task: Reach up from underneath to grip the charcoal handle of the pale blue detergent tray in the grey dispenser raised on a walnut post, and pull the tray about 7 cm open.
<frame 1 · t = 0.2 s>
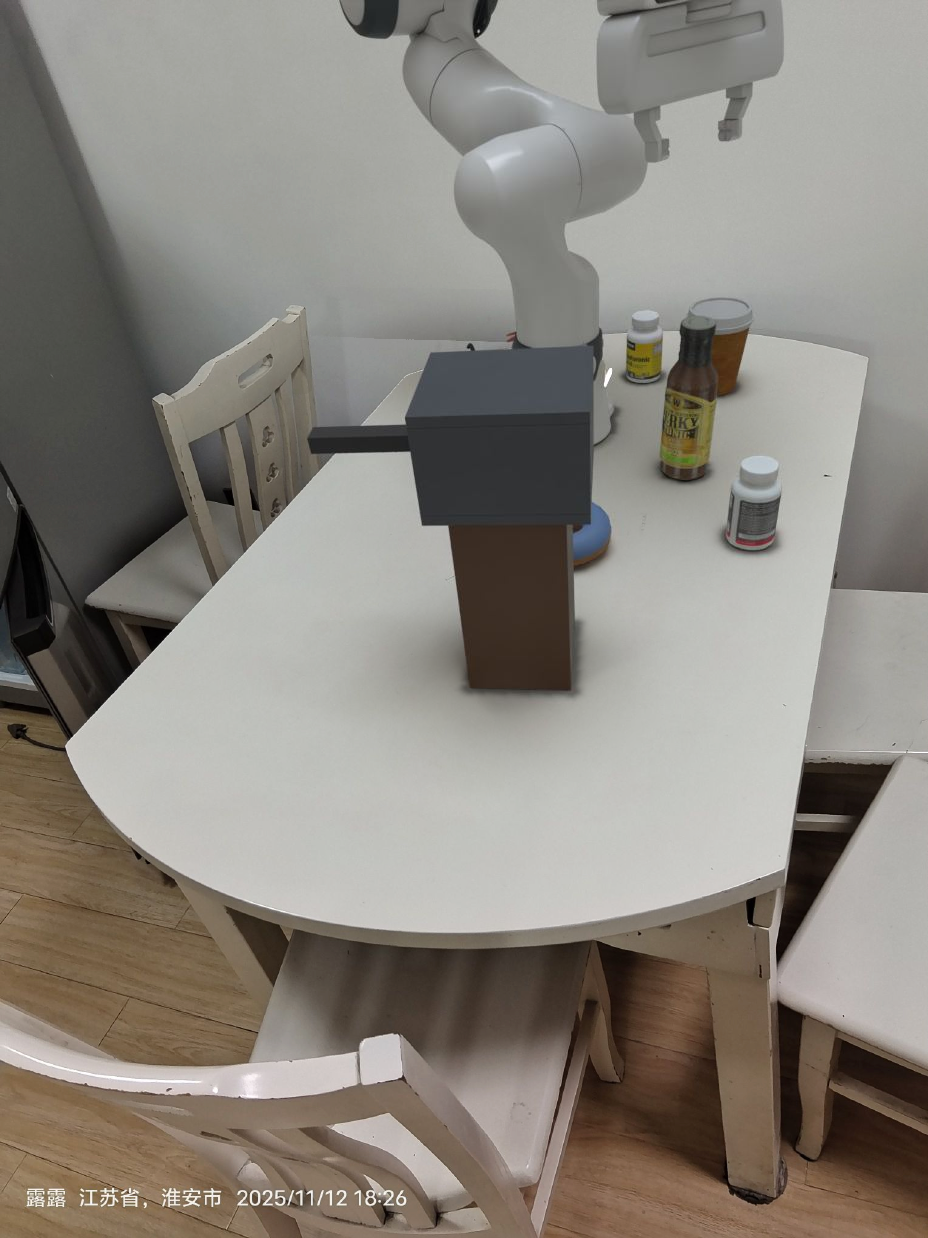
hand: (694, 150, 83), 39 cm above the table, tool pointing down, fingers open, 8 cm apart
detergent tray: (440, 437, 73), point 25 cm above the table, slide at 0.0 cm
disposable coffee cup: (713, 387, 129), on the table
dispenser: (524, 654, 88), on the table
pill bottle: (749, 539, 99), on the table
supplement bottle: (643, 377, 134), on the table
sauce bottle: (684, 471, 112), on the table
doughnut: (568, 548, 101), on the table
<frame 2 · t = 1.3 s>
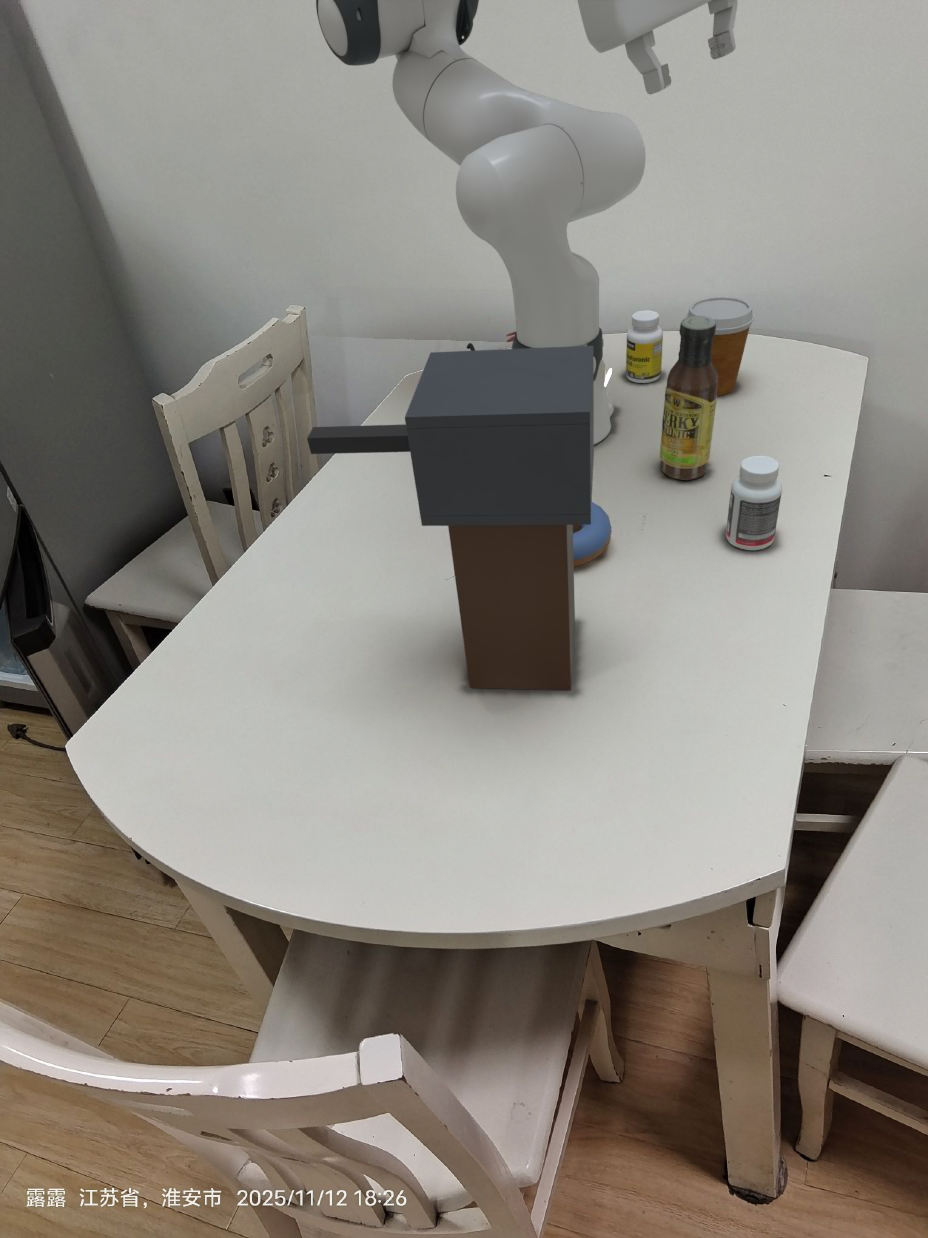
hand: (692, 72, 78), 46 cm above the table, tool tilted 15°, fingers open, 8 cm apart
nothing on the table moved.
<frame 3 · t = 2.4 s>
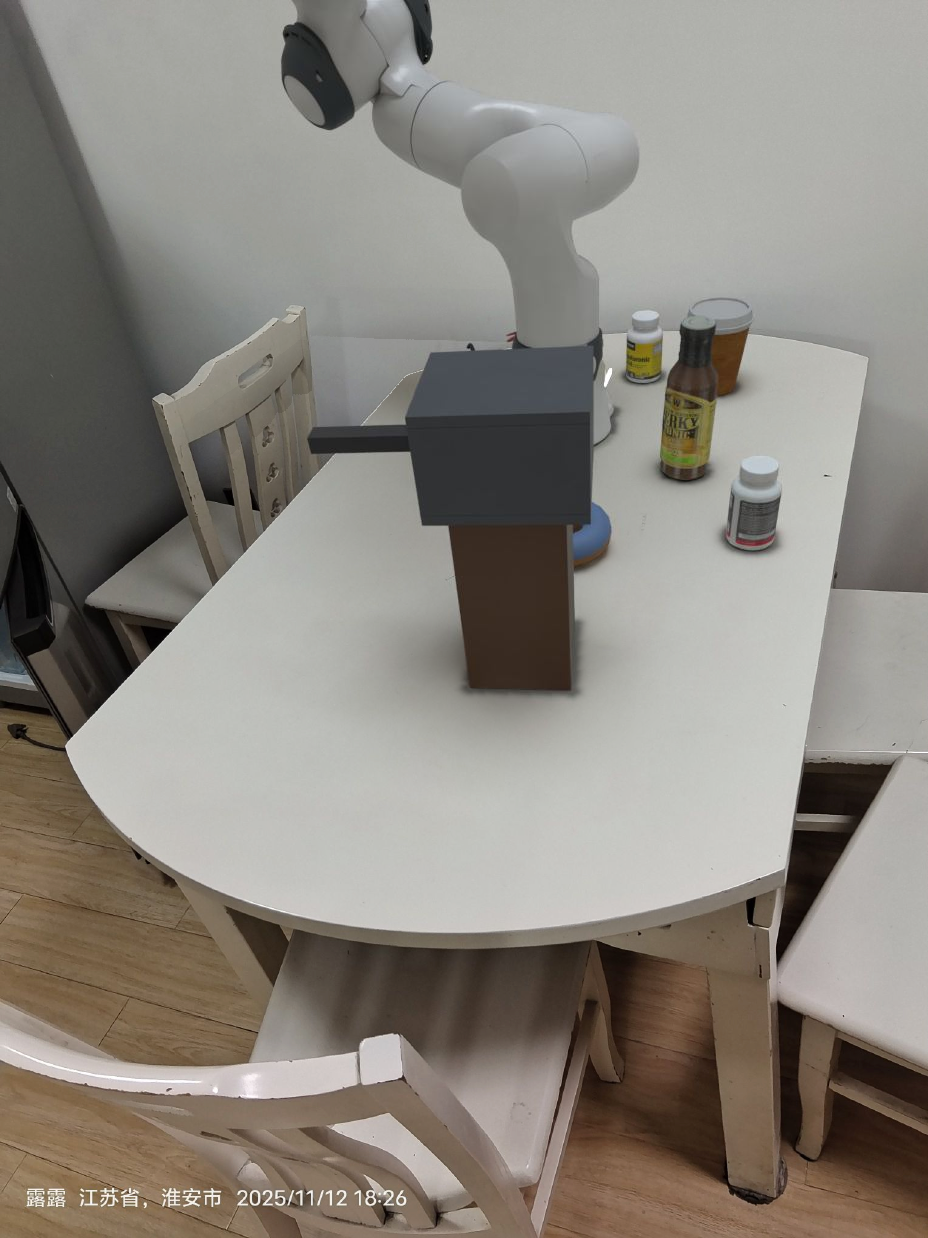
nothing on the table moved.
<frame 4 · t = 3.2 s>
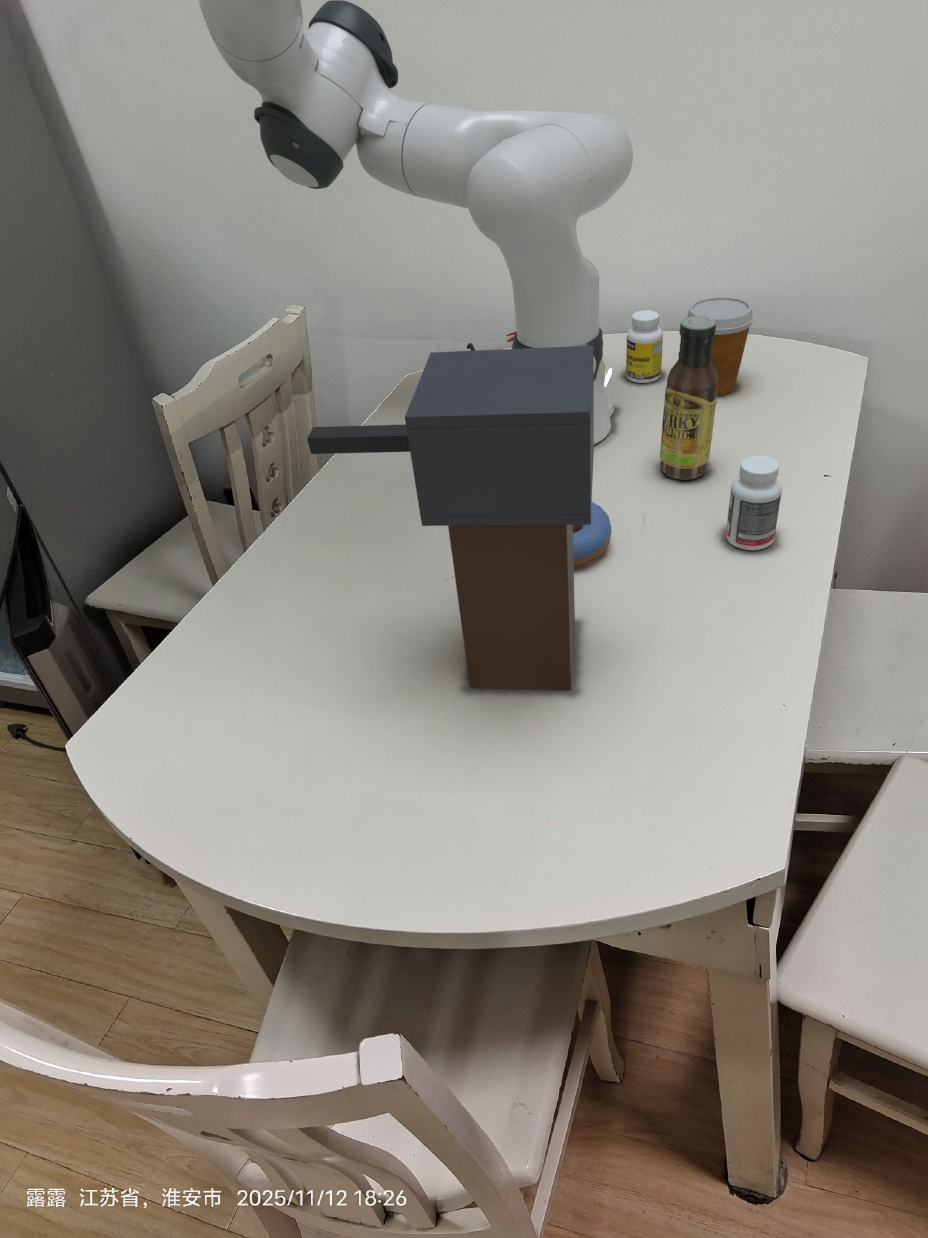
nothing on the table moved.
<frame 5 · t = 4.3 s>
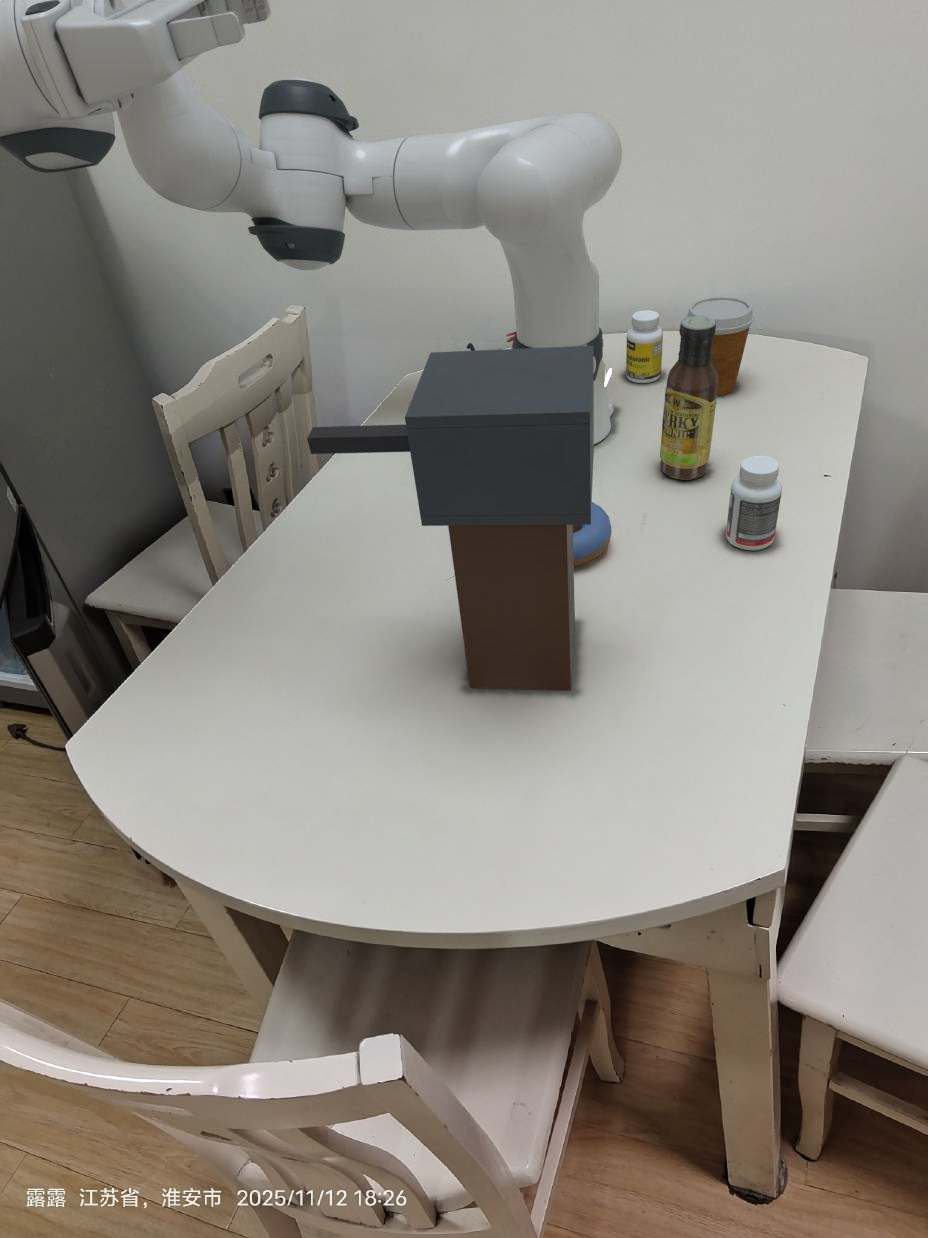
hand: (254, 14, 65), 55 cm above the table, tool horizontal, fingers open, 8 cm apart
nothing on the table moved.
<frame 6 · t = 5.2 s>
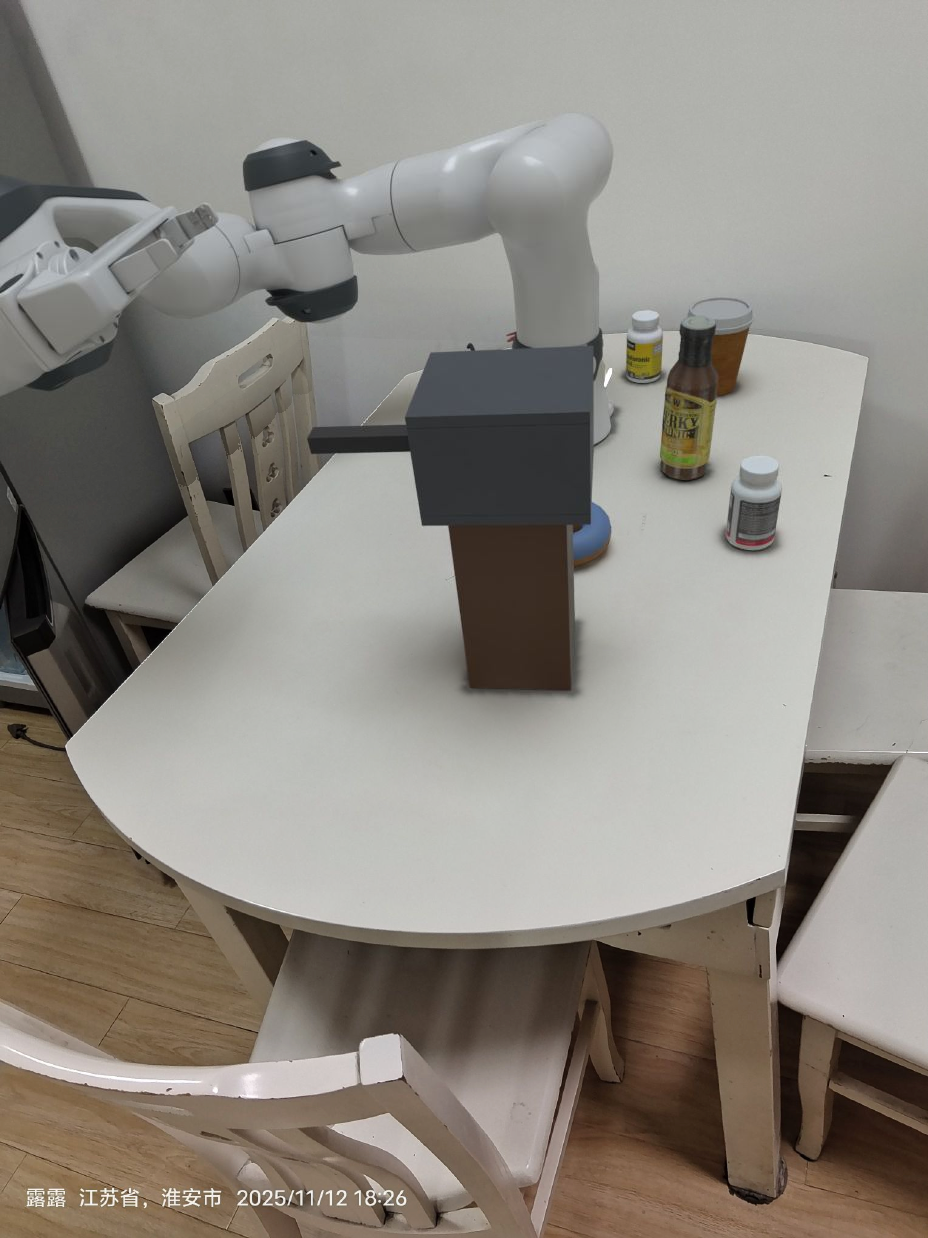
hand: (194, 228, 68), 42 cm above the table, tool pointing upward, fingers open, 8 cm apart
nothing on the table moved.
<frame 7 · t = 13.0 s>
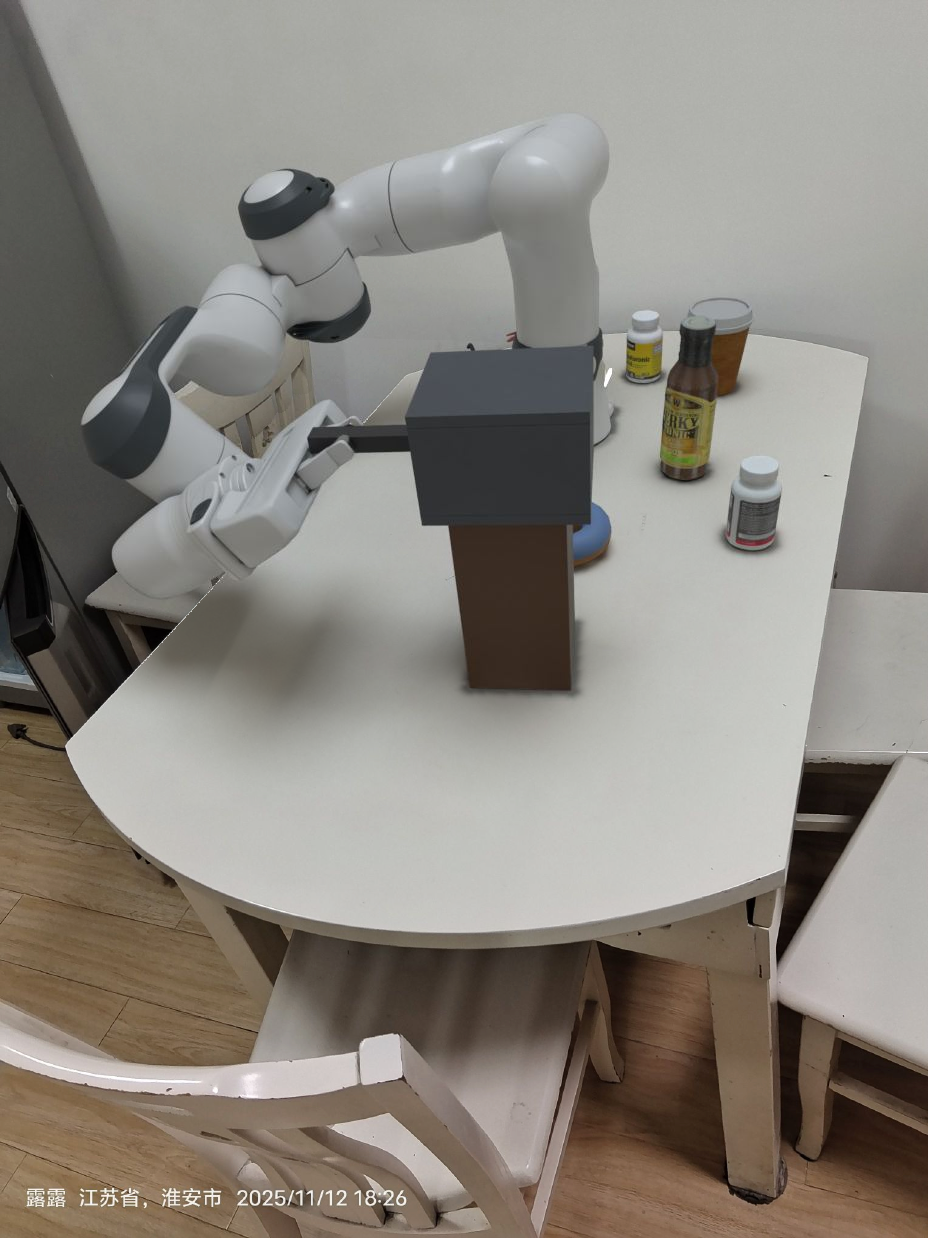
hand: (354, 434, 74), 25 cm above the table, tool pointing upward, fingers closed on detergent tray, 2 cm apart
detergent tray: (439, 437, 73), point 25 cm above the table, slide at 0.0 cm, touching gripper
everything else where it was.
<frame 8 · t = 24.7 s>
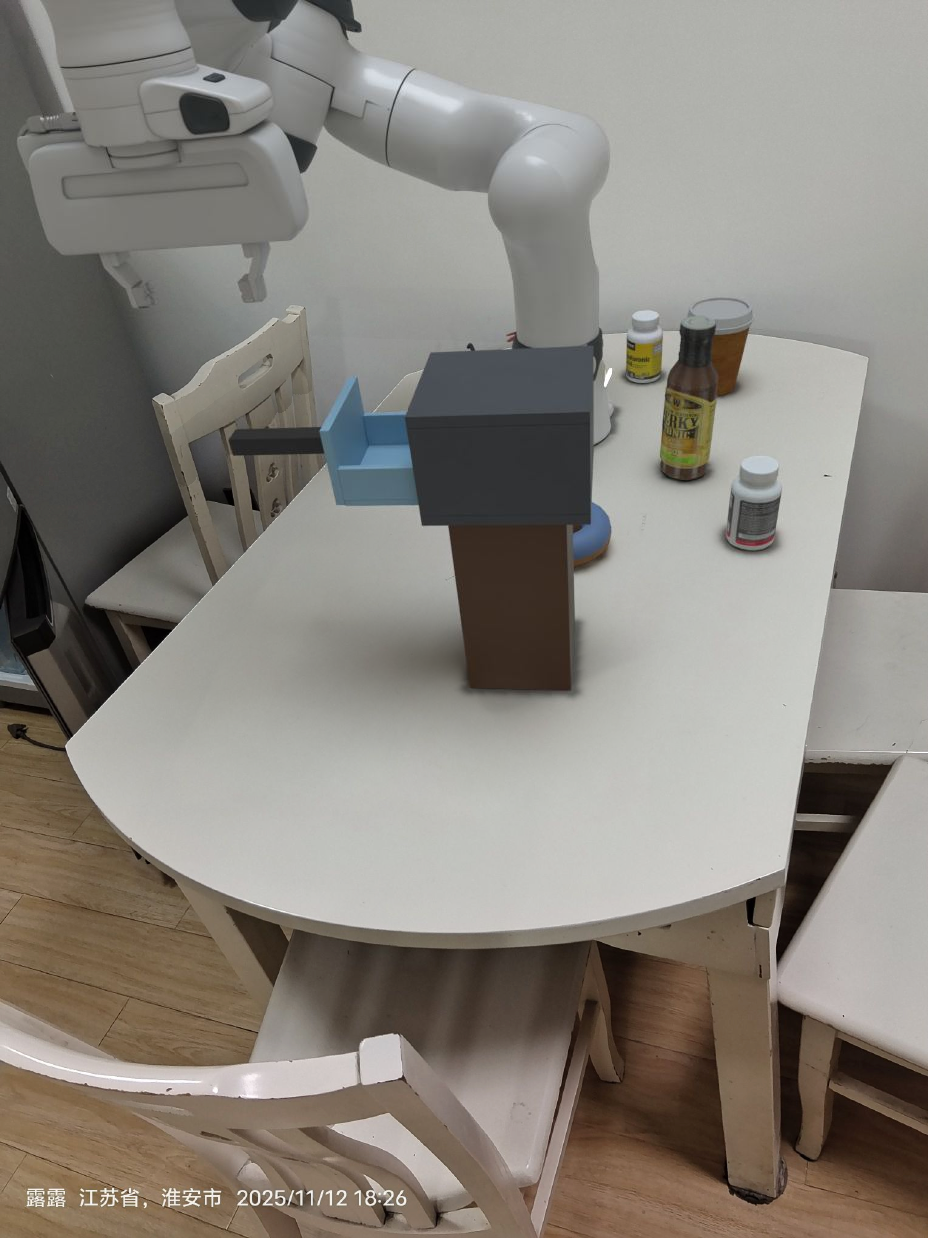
hand: (200, 302, 68), 37 cm above the table, tool pointing down, fingers open, 8 cm apart
detergent tray: (358, 439, 74), point 25 cm above the table, slide at 7.2 cm
everything else where it was.
at the end: detergent tray slide at 7.2 cm; sauce bottle moved 0.2 cm from its start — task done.
